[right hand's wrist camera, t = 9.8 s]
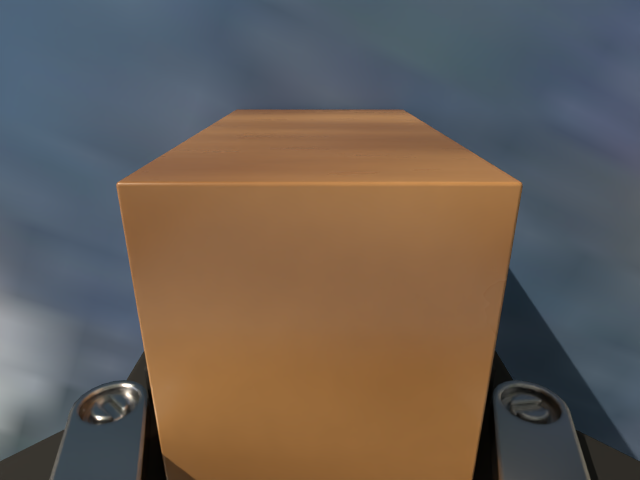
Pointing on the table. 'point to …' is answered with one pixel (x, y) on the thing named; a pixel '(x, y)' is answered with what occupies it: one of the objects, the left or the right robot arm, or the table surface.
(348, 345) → the beam
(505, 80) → the table surface
